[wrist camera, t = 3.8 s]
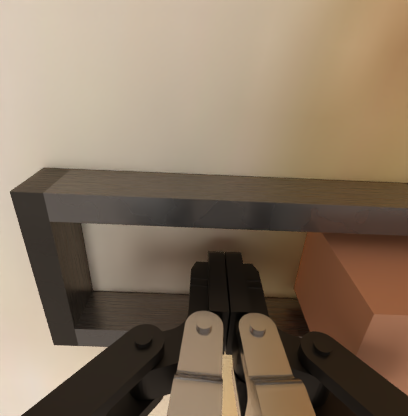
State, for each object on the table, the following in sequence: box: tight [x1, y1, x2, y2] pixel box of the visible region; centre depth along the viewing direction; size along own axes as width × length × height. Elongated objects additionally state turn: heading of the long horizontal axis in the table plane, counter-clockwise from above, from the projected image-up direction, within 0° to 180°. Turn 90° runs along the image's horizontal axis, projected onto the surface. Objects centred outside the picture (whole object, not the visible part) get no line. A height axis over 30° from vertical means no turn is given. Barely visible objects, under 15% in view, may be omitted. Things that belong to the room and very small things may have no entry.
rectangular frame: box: [10, 168, 408, 351], centre depth 14 cm, size 23×8×2 cm, turn 88°
